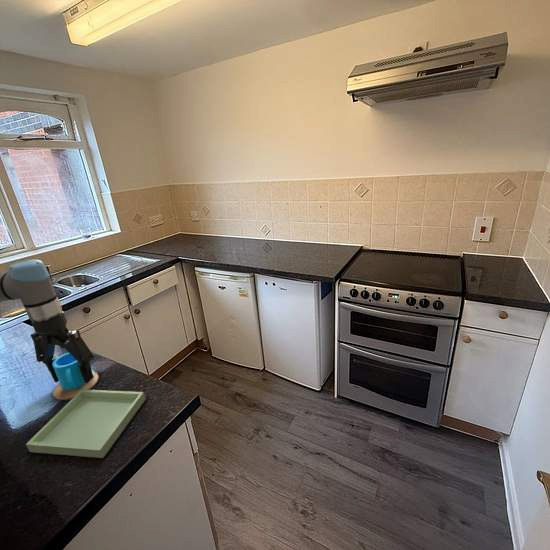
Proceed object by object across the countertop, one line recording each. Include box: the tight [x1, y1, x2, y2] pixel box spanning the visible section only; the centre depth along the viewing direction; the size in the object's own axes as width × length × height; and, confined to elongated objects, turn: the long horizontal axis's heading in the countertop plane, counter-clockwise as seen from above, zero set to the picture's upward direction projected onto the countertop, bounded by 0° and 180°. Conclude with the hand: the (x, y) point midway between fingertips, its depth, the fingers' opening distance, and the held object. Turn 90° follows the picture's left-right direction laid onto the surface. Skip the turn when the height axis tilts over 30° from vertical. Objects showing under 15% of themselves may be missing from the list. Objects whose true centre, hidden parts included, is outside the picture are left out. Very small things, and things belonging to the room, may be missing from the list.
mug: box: [52, 351, 86, 390], centre depth 90 cm, size 12×8×8 cm
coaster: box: [52, 370, 100, 401], centre depth 91 cm, size 12×12×1 cm
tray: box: [25, 389, 147, 459], centre depth 76 cm, size 20×18×2 cm
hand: (74, 379), depth 91 cm, fingers open, 10 cm apart
